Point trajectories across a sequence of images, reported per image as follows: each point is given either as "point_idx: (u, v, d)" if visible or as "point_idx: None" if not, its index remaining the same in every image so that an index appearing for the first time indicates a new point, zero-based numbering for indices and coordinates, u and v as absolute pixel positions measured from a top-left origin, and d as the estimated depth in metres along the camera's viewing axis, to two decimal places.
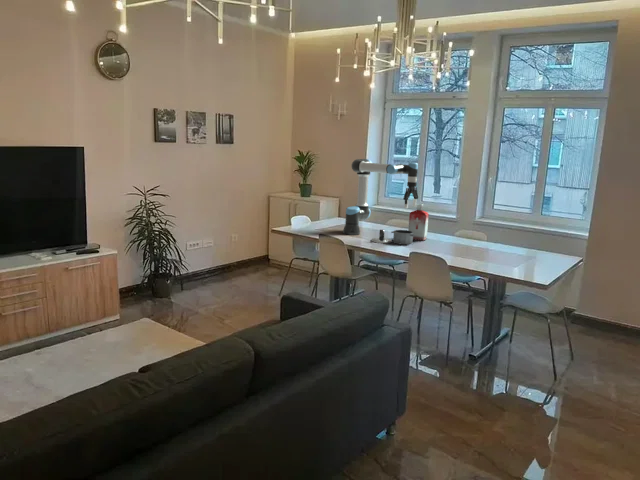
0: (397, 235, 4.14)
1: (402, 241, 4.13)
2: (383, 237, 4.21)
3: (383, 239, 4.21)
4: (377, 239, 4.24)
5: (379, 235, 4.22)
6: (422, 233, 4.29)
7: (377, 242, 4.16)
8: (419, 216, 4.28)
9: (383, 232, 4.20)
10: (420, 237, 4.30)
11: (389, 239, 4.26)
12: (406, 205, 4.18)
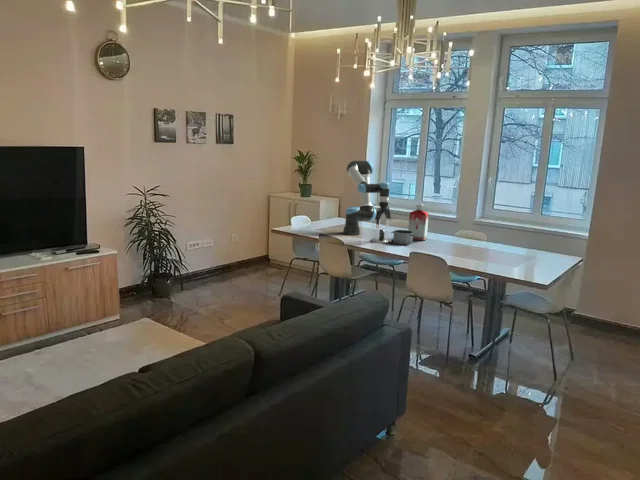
0: (397, 235, 4.14)
1: (402, 241, 4.13)
2: (383, 237, 4.21)
3: (383, 239, 4.21)
4: (377, 239, 4.24)
5: (379, 235, 4.22)
6: (422, 233, 4.29)
7: (377, 242, 4.16)
8: (419, 216, 4.28)
9: (383, 232, 4.20)
10: (420, 237, 4.30)
11: (389, 239, 4.26)
12: (378, 225, 4.14)
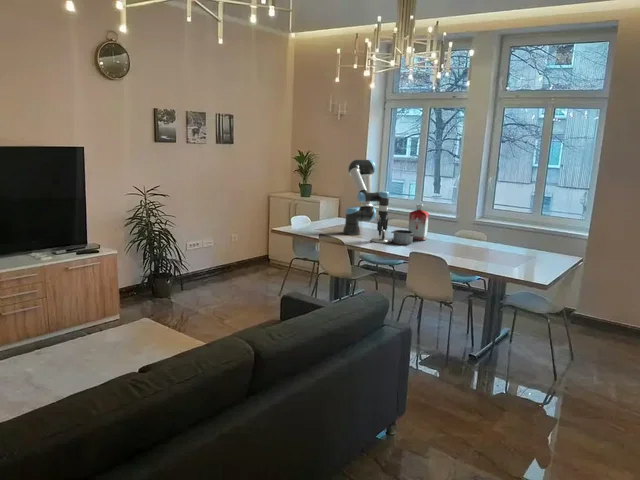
0: (397, 235, 4.14)
1: (402, 241, 4.13)
2: (383, 237, 4.21)
3: (383, 239, 4.21)
4: (377, 239, 4.24)
5: None
6: (422, 233, 4.29)
7: (377, 242, 4.16)
8: (419, 216, 4.28)
9: (383, 232, 4.20)
10: (420, 237, 4.30)
11: (389, 239, 4.26)
12: (380, 236, 4.20)
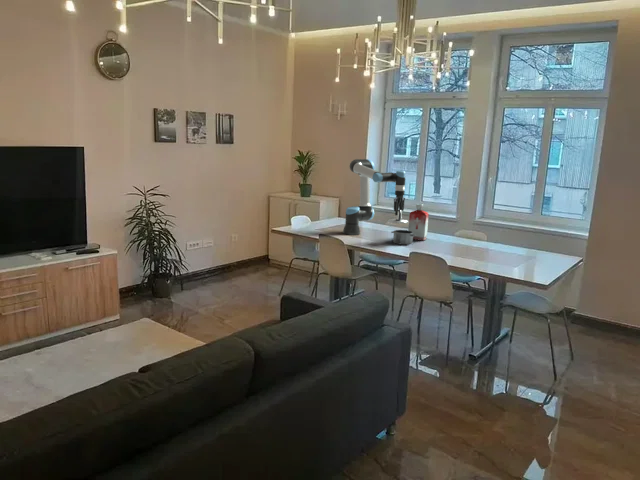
0: (397, 235, 4.14)
1: (402, 241, 4.13)
2: (400, 217, 4.15)
3: (400, 219, 4.15)
4: (394, 219, 4.19)
5: None
6: (422, 233, 4.29)
7: (394, 222, 4.10)
8: (419, 216, 4.28)
9: (400, 212, 4.14)
10: (420, 237, 4.30)
11: None
12: (397, 216, 4.14)
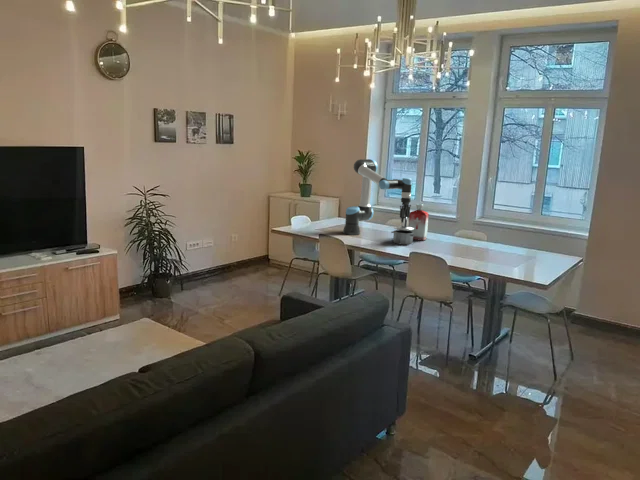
0: (397, 235, 4.14)
1: (402, 241, 4.13)
2: (406, 224, 4.16)
3: (406, 226, 4.16)
4: (399, 226, 4.19)
5: None
6: (422, 233, 4.29)
7: (400, 229, 4.11)
8: (419, 216, 4.28)
9: (406, 219, 4.15)
10: (420, 237, 4.30)
11: (411, 226, 4.21)
12: (403, 223, 4.15)
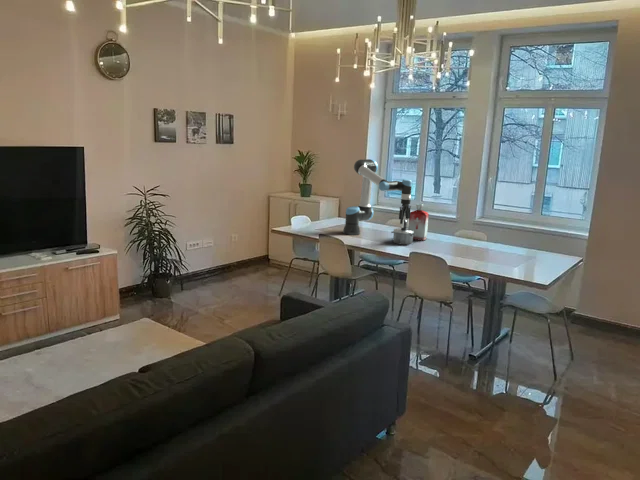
0: (397, 235, 4.14)
1: (402, 241, 4.13)
2: (405, 227, 4.16)
3: (405, 229, 4.17)
4: (399, 229, 4.20)
5: None
6: (422, 233, 4.29)
7: (399, 232, 4.12)
8: (419, 216, 4.28)
9: (405, 222, 4.15)
10: (420, 237, 4.30)
11: None
12: (402, 224, 4.14)
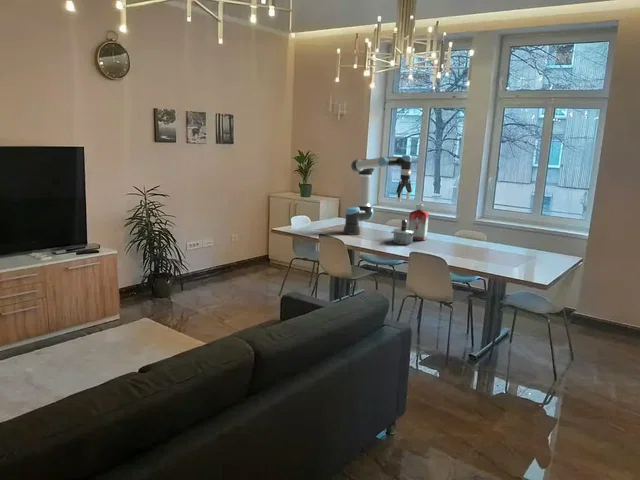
0: (397, 235, 4.14)
1: (402, 241, 4.13)
2: (405, 227, 4.16)
3: (405, 229, 4.17)
4: (399, 229, 4.20)
5: None
6: (422, 233, 4.29)
7: (399, 232, 4.12)
8: (419, 216, 4.28)
9: (405, 222, 4.15)
10: (420, 237, 4.30)
11: None
12: (399, 198, 4.09)
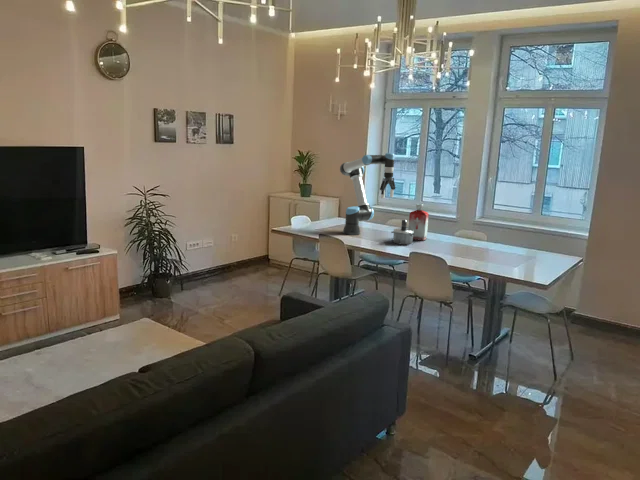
0: (397, 235, 4.14)
1: (402, 241, 4.13)
2: (405, 227, 4.16)
3: (405, 229, 4.17)
4: (399, 229, 4.20)
5: None
6: (422, 233, 4.29)
7: (399, 232, 4.12)
8: (419, 216, 4.28)
9: (405, 222, 4.15)
10: (420, 237, 4.30)
11: None
12: (383, 195, 4.21)
